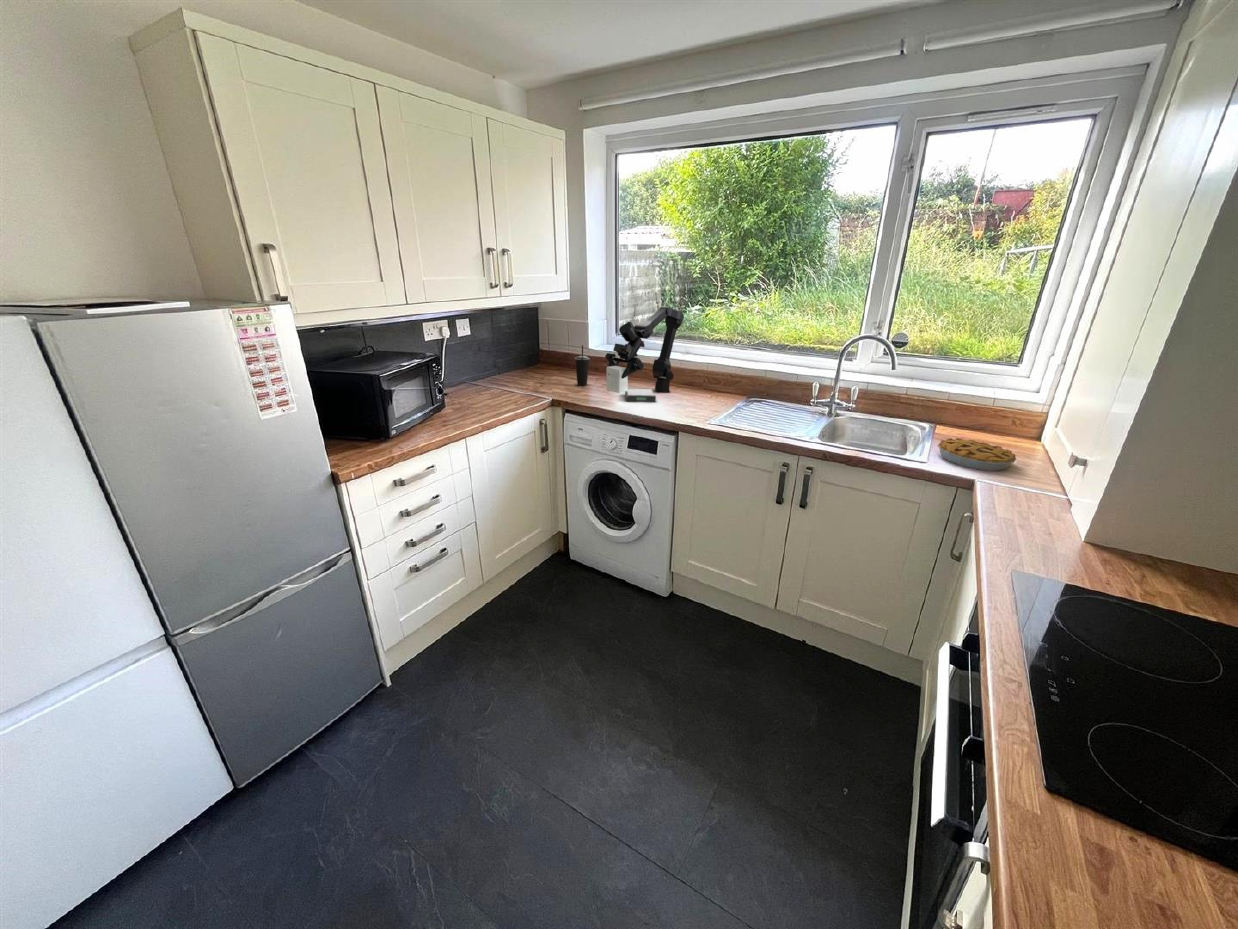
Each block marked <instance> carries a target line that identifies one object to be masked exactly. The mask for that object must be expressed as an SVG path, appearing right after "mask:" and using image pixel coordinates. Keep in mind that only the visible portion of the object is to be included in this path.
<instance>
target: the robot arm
mask: <svg viewBox="0 0 1238 929" xmlns="http://www.w3.org/2000/svg"><path fill="white" fill-rule="evenodd" d="M684 318H685V315H684V313H683V311H682V310H679V309H674V308H672V307H670V306H664V305H663V306H659V308H658V310H656V312H654V313H653V314H652V315H651V316H649V318H647V319H646V320H644V321H641V322H639V323H637V324H635V325H634V323H633V322H632V321H627V322H626V323H624V324H622V325H621V326H620V327H619V329H618V332H619V333H620V335H621V337H622V338H623V339H624V341H625V342H626V343H625V344H622V343H615V344H614V346H613V350H612V351H613V352H616V353H617V355H616V354H615V353H613V352H607V353H606V354H605V356H604V358H605V359H606V360H607V362H608V367H610V366H618V365H619V363H621V364H624V365H625V364H626V366H625V368H626V369H625V371H624V373H623V375H622V377H621V378H622V379H623V378H625V377H627V376H628V377H629V376H630V375H632V374H633V373H636V372H638V371H642V370H643V369H644V367H645V366H644V362H643V361H642V360H641V358H640V357H638V352H639V350H640V349H641V348H645V340H647V339H649V338H650V337H651V336H652V334H653V333H654V329H655V328H656V327H657V326H659V324H661V322H663V321H664V323H665V326H666V327H665V328H666V329H665V333H664V337H663V340H662V344H661V348H660V352H659V356H658V358H657V359H656V358H655V359H654V360H653V365H652V375H653V378H654V379H656V380H655V381H654V390H655V391H656V393H670V392H671V391H670V385H671V384H670V383H671V381H672V380H674V376H675V375H674V373H673V371H672V369H671V368H672V364H671V360H670V359H671V354H672V350H673V346H674V342H675V339H676V334H677V330H678V329H679V328H680V327H681V326H682V324H683V321H684ZM643 339H645V340H643Z"/></svg>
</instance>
